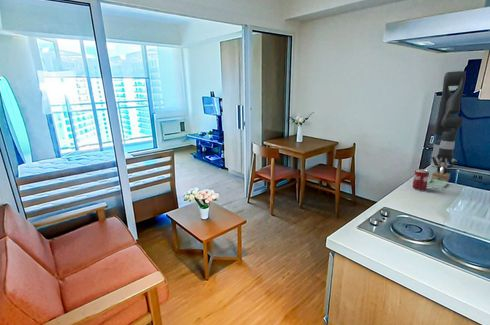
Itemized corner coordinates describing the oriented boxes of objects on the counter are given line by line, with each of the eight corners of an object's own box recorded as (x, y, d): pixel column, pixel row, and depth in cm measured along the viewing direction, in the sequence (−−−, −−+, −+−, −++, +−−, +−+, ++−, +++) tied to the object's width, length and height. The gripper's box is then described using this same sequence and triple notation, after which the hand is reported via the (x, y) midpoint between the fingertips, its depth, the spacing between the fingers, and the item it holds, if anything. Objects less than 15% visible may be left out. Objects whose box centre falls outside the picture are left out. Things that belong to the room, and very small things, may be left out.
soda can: (425, 187, 161) (429, 169, 158) (426, 191, 156) (429, 173, 152) (412, 185, 165) (415, 168, 162) (412, 189, 159) (415, 171, 156)
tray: (430, 182, 170) (431, 178, 170) (447, 185, 164) (447, 181, 163) (425, 186, 164) (426, 182, 163) (442, 189, 158) (443, 186, 157)
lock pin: (438, 177, 174) (441, 165, 172) (443, 178, 172) (445, 166, 170) (437, 178, 173) (440, 166, 170) (442, 179, 171) (444, 167, 168)
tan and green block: (434, 176, 179) (435, 170, 178) (450, 180, 173) (451, 173, 171) (428, 181, 171) (430, 174, 170) (445, 185, 165) (446, 177, 163)
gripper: (461, 148, 164) (456, 173, 169) (435, 144, 174) (431, 169, 179) (458, 150, 159) (453, 176, 164) (432, 146, 169) (427, 171, 174)
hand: (441, 172), depth 171 cm, fingers closed on lock pin, 2 cm apart
